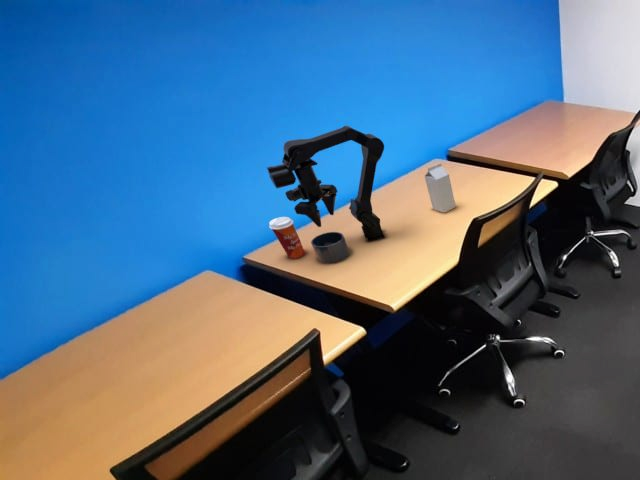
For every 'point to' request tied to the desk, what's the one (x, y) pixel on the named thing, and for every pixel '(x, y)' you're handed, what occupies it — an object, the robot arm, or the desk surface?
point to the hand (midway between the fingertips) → (326, 220)
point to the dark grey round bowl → (330, 247)
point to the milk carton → (440, 188)
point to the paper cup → (287, 236)
